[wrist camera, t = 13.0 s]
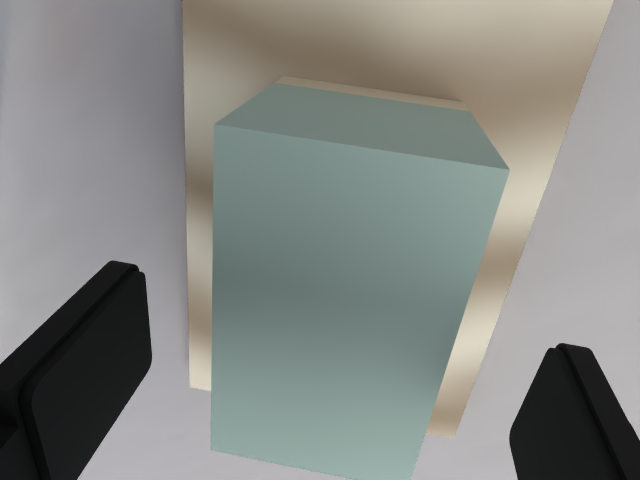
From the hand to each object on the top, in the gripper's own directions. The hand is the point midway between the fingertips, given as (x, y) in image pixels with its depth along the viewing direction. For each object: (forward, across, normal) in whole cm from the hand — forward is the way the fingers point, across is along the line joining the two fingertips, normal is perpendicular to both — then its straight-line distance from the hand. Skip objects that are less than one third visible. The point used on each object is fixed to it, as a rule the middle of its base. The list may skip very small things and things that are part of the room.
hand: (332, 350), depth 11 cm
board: (+9, 0, +1) cm, 9 cm away
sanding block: (+8, 0, 0) cm, 8 cm away
